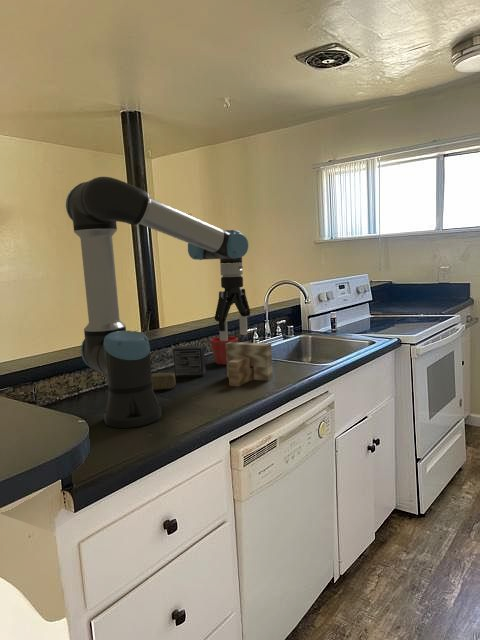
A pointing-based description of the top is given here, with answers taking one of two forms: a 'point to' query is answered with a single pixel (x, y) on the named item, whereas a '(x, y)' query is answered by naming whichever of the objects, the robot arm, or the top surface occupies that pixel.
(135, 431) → the top surface
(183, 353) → the small box
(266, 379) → the beige wooden slab
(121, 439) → the top surface
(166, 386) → the stone block
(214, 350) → the flower pot
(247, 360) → the oak board
